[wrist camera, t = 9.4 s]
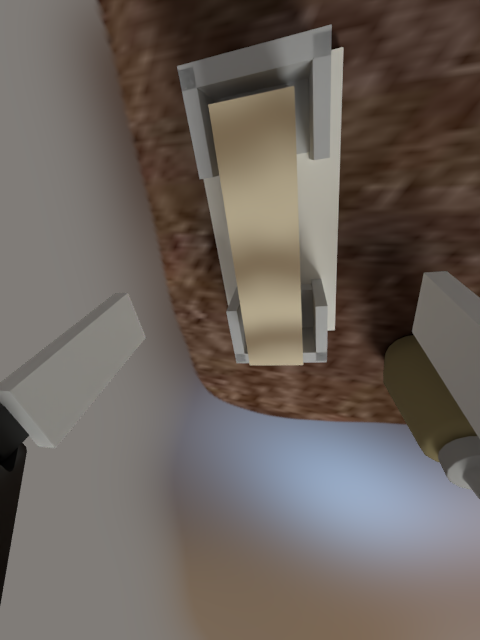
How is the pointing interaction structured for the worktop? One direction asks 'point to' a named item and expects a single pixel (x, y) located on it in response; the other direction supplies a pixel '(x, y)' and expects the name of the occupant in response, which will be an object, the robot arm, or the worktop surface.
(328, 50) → the bracket board
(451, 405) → the squeeze bottle
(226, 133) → the rail
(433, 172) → the worktop surface
